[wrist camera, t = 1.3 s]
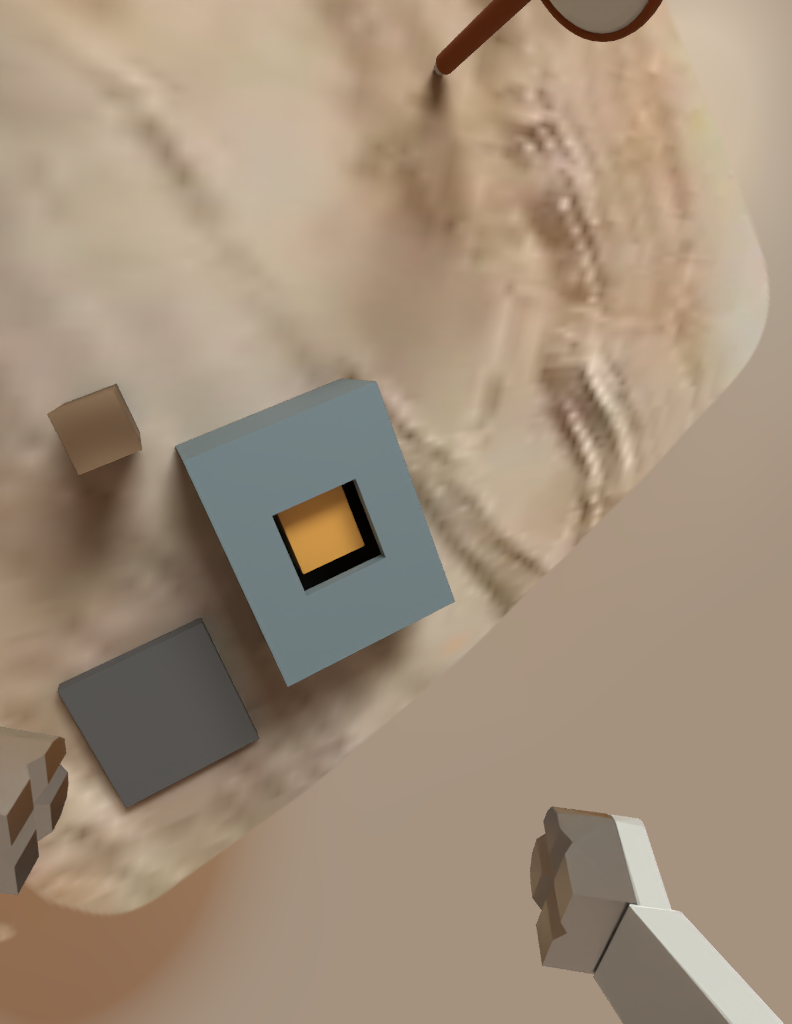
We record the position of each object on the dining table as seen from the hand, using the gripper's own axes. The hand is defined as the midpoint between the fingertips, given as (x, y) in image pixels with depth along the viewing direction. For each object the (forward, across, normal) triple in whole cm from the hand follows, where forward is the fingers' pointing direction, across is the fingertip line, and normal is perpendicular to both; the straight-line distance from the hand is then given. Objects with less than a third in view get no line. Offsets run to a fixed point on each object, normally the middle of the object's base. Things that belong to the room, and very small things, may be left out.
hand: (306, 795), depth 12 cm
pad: (+26, +11, +24) cm, 37 cm away
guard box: (+32, +4, +12) cm, 35 cm away
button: (+30, +3, +12) cm, 32 cm away
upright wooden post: (+30, +16, +7) cm, 34 cm away
